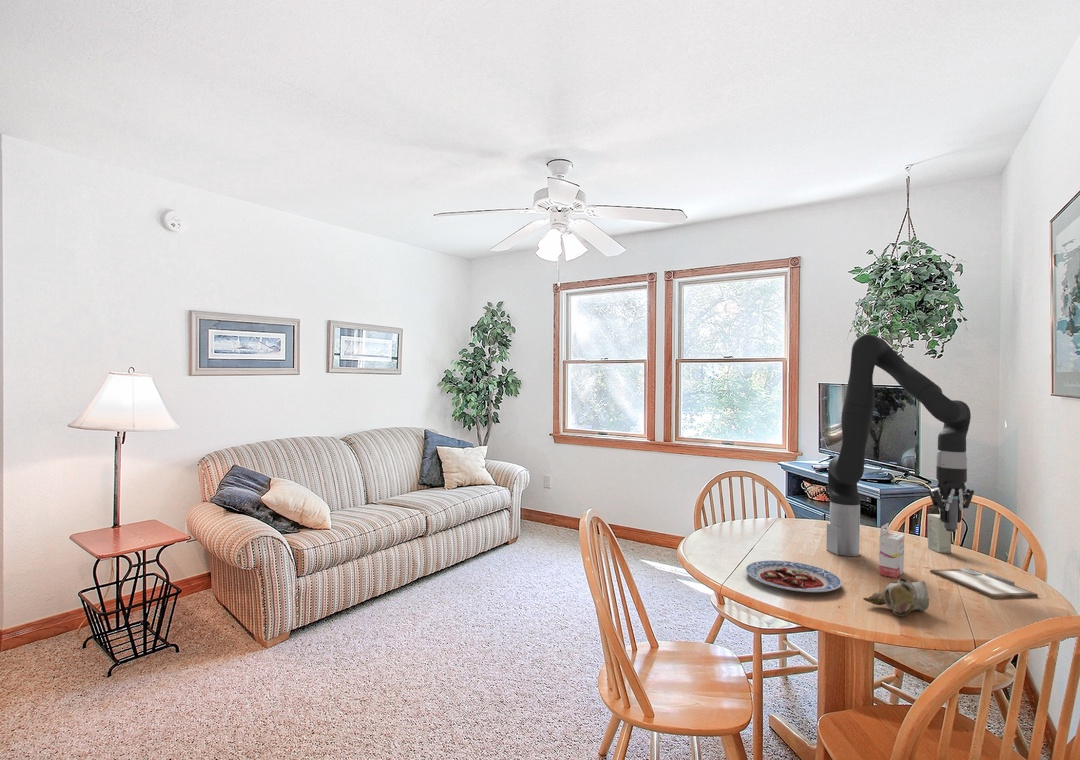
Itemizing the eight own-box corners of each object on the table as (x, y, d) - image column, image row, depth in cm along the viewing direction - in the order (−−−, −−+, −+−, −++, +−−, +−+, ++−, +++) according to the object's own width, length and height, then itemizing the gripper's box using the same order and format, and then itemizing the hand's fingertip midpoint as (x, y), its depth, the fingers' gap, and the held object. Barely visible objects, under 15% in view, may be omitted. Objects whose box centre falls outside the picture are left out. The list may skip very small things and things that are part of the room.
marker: (950, 532, 169) (950, 496, 169) (940, 529, 172) (941, 494, 172) (960, 532, 169) (961, 496, 169) (950, 529, 173) (951, 494, 173)
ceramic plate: (807, 606, 147) (807, 594, 147) (727, 576, 169) (727, 566, 169) (860, 588, 161) (860, 577, 161) (780, 562, 182) (780, 553, 182)
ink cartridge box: (897, 578, 168) (898, 529, 168) (878, 574, 172) (879, 526, 172) (904, 572, 174) (905, 524, 174) (886, 568, 178) (887, 521, 178)
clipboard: (992, 598, 153) (992, 592, 153) (930, 572, 174) (930, 566, 174) (1037, 597, 155) (1037, 590, 155) (970, 571, 176) (970, 565, 176)
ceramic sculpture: (943, 581, 141) (895, 590, 137) (944, 616, 141) (896, 625, 137) (905, 568, 151) (860, 575, 147) (906, 600, 151) (861, 608, 147)
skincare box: (951, 553, 194) (952, 518, 194) (939, 553, 194) (939, 517, 194) (938, 547, 201) (939, 513, 201) (926, 547, 201) (927, 513, 201)
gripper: (940, 467, 166) (940, 526, 166) (983, 467, 168) (982, 525, 168) (920, 464, 174) (920, 519, 174) (961, 463, 175) (960, 518, 175)
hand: (950, 522), depth 171 cm, fingers closed on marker, 3 cm apart
